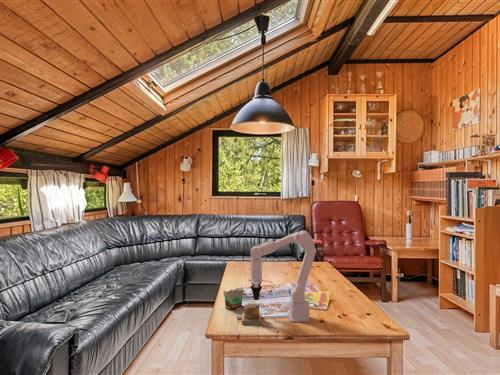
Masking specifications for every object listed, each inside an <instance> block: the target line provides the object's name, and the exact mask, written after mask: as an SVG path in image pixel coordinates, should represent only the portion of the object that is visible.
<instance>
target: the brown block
mask: <svg viewBox="0 0 500 375" xmlns="http://www.w3.org/2000/svg"><path fill="white" fill-rule="evenodd" d="M244 312H245V319H259V313H260V304H256V308H248V303H247V304H245V306H244Z"/></svg>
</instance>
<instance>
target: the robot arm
mask: <svg viewBox="0 0 500 375" xmlns="http://www.w3.org/2000/svg"><path fill="white" fill-rule="evenodd" d="M291 243H293V244H297V245H298V243H299V244H300V245H301V247H303V248H304V250H305V253H304V256H303V259H302V262H301V265H300V269H299V272H298V275H297V278H296V281H295V282H294V284H293V286H292V287H291V289H290V294H291V298H290V301H289V302H290V303H289V305H290V306H289V309H290V312H289V314H288V318H289V321H290V322H292V323H293V322H294V323H295V322H299V323H302V322H303V323H310V322H311V321H310V302H309V301H308V300H305V299H306V297H305V292H306V285H307V282H308V278H309V276H310V273H311V269H312V266H313V263H314V260H315V257H316V253H317V249H316V246H315V242H314V239H313V238H312V236H311V235H310V233H309V232H308V231H307V230H302V229H301V230H300V231H296V232H293V233H290V234H288V235H286V236H284V237H282V238H279V239H277V240H275V241H274V240H266V241H265V242H263V243H261V244H257V245H255V246H252V247H251V249H250V253H249V255H250V278H248V282H250V283H251V285H250V289H251V292H252V295H253V301H259V300H260V293H261V290H262V288H263V286H261V284H262V282H263V261H262V256H266V255H269V254H271V253H274V252H276V250H277V248H280V247H283V246H286V245H288V244H291Z"/></svg>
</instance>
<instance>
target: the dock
mask: <svg viewBox="0 0 500 375" xmlns="http://www.w3.org/2000/svg"><path fill="white" fill-rule="evenodd" d="M261 313H262V312H259V319H245V311H243V312H242V318H241V325H242V326H261V325H262V324H261V319H262V317H261V316H262V314H261Z"/></svg>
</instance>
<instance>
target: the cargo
mask: <svg viewBox="0 0 500 375" xmlns="http://www.w3.org/2000/svg"><path fill="white" fill-rule="evenodd" d="M247 305H248V308H256V305H257V300H253V301H252V300H250V301H249V300H248V301H247Z"/></svg>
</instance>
